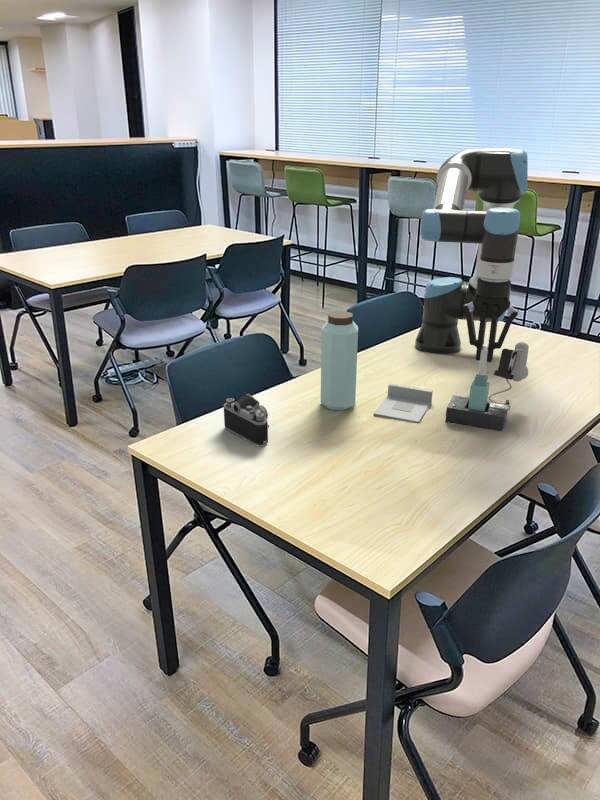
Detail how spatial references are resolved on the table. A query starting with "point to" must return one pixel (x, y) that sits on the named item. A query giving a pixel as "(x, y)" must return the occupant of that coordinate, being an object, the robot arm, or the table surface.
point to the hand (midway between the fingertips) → (482, 373)
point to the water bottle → (339, 361)
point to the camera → (247, 419)
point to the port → (477, 414)
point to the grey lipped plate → (405, 403)
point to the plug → (479, 393)
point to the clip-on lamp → (513, 365)
